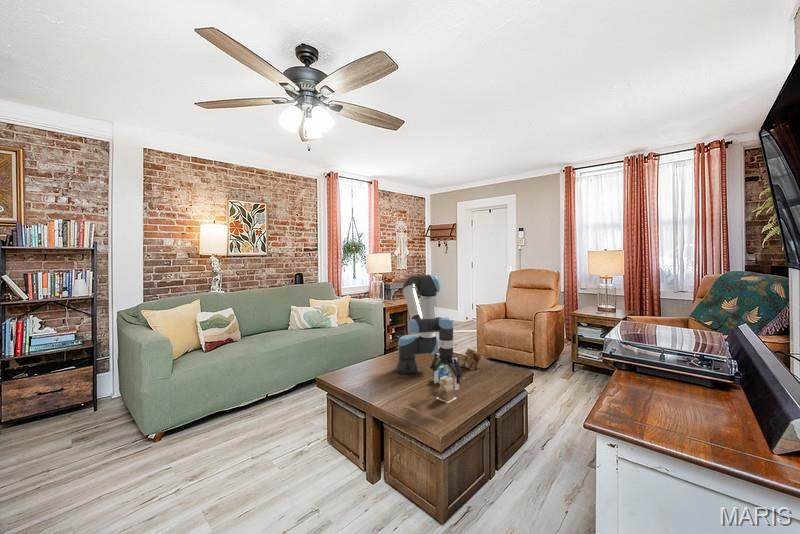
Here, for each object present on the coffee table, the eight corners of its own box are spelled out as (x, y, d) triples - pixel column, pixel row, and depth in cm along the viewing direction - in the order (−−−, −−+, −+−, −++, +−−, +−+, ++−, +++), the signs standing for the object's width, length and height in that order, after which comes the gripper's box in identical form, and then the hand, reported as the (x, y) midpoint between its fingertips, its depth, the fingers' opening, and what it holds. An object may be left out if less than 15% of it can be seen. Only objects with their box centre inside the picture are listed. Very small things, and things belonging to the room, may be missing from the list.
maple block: (439, 389, 178) (439, 378, 178) (445, 386, 182) (445, 375, 182) (447, 391, 175) (447, 380, 175) (453, 389, 178) (452, 378, 178)
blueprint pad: (426, 397, 182) (426, 395, 182) (441, 389, 192) (441, 387, 192) (450, 406, 171) (450, 404, 171) (465, 397, 181) (465, 396, 181)
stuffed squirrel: (458, 367, 229) (458, 348, 229) (473, 363, 237) (473, 344, 236) (469, 371, 221) (469, 351, 220) (484, 367, 229) (484, 348, 228)
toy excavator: (446, 390, 191) (446, 361, 191) (431, 380, 206) (430, 353, 205) (458, 387, 195) (458, 358, 195) (442, 377, 210) (442, 351, 209)
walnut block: (438, 398, 179) (438, 389, 179) (445, 394, 183) (445, 385, 183) (447, 401, 175) (447, 392, 174) (454, 397, 179) (454, 388, 179)
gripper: (423, 343, 184) (424, 381, 185) (461, 353, 166) (461, 394, 167) (432, 341, 189) (432, 377, 190) (470, 350, 171) (470, 390, 172)
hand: (446, 385), depth 179 cm, fingers open, 13 cm apart
